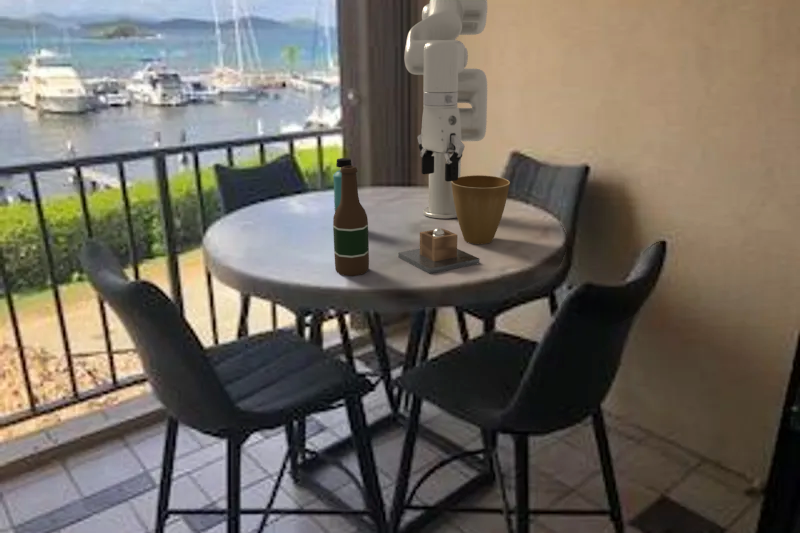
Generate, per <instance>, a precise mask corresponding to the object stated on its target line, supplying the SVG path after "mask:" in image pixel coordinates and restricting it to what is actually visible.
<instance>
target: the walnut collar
mask: <svg viewBox="0 0 800 533" xmlns="http://www.w3.org/2000/svg"><path fill="white" fill-rule="evenodd" d="M442 229H443V230H444V233H445V236H439V237H434V236H433V231H434V230H435V229H430V230H425V231H424V230H423V231H420V232H419V249H420V255H422V256H424V257H426V258H428V259H430V260H432V261H439V260H444V259H449V258H454V257H457V249H458V234H457V233H454V232H452V231H449V230H447V229H445V228H442Z"/></svg>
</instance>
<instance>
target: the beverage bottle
mask: <svg viewBox="0 0 800 533" xmlns="http://www.w3.org/2000/svg"><path fill="white" fill-rule="evenodd" d="M352 164H353V163H352V159H351V158H349V157H342V158H337V159H336V168H341V167H344V166H353V165H352ZM340 170H341V169H340ZM340 170H336V172H334V173H333V175H332V178H333V196H334V197H333V199H334V200H333V202H334V212H335V211H336V209H337V207H338V206H339V204H340V200H341V177H342V173H341V172H340Z"/></svg>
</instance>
